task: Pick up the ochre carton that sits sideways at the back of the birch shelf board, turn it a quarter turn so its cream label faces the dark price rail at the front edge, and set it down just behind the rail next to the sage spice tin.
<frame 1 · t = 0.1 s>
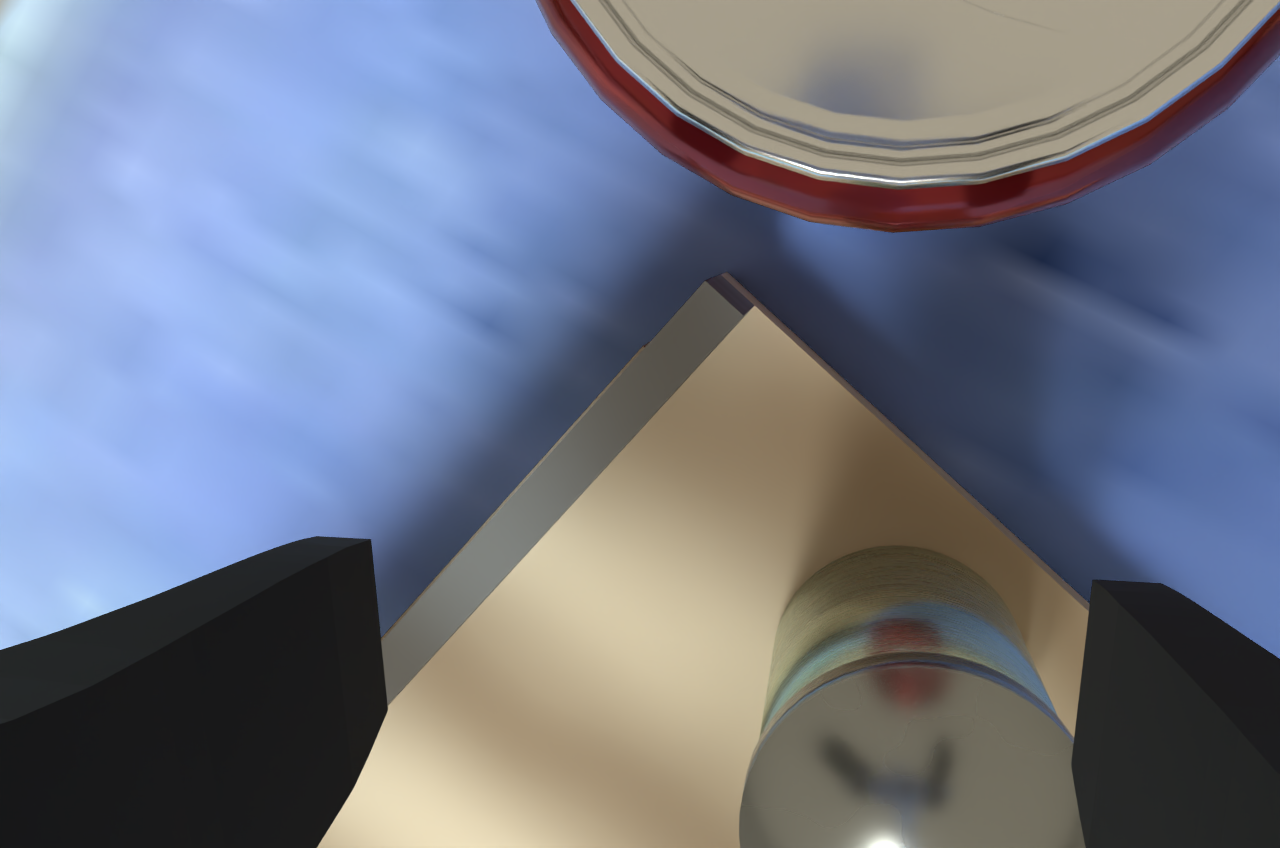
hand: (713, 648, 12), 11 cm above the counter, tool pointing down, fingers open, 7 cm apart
spice tin: (896, 664, 21), point 1 cm above the counter, touching shelf board
soda can: (878, 19, 21), on the counter
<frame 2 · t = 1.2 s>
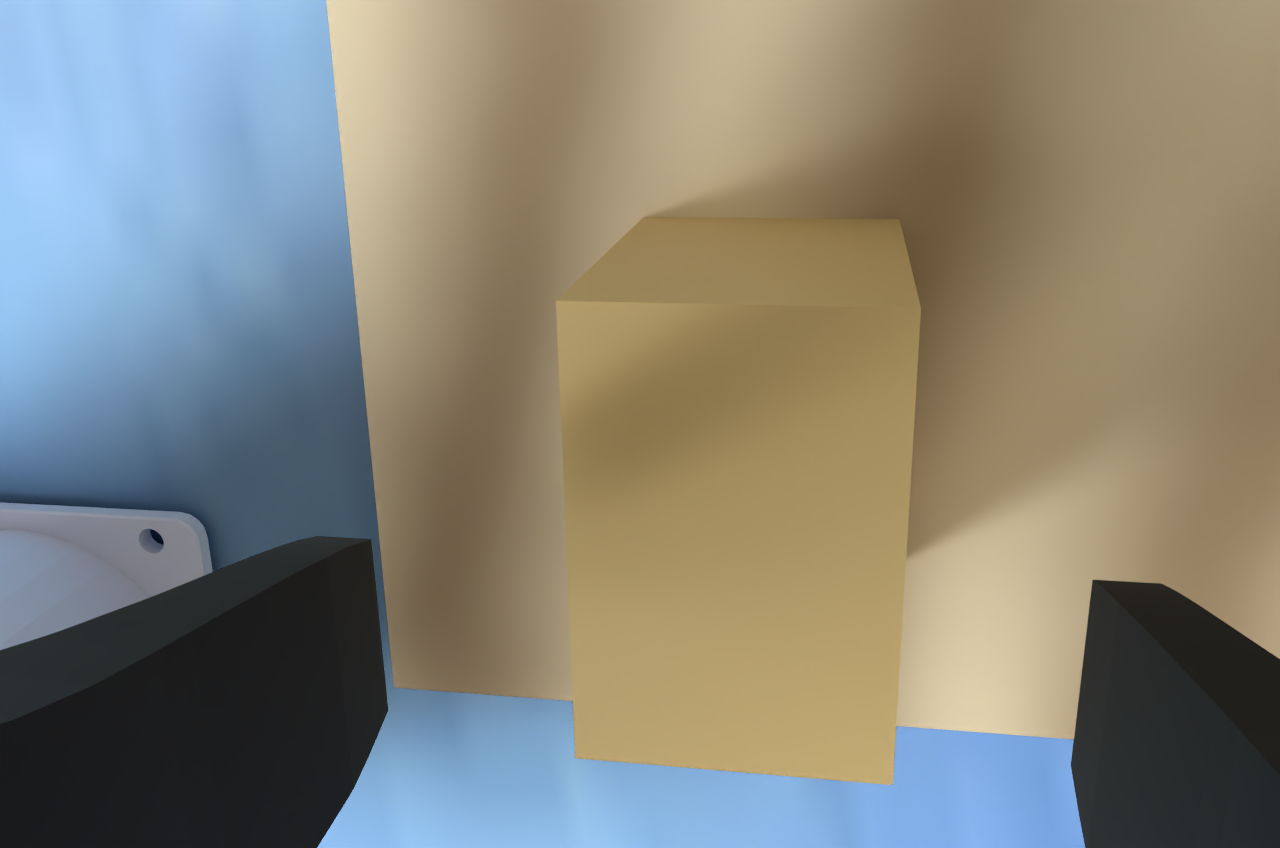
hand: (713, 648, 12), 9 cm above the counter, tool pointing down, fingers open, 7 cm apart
carton: (766, 400, 19), point 1 cm above the counter, touching shelf board
shelf board: (903, 80, 19), on the counter
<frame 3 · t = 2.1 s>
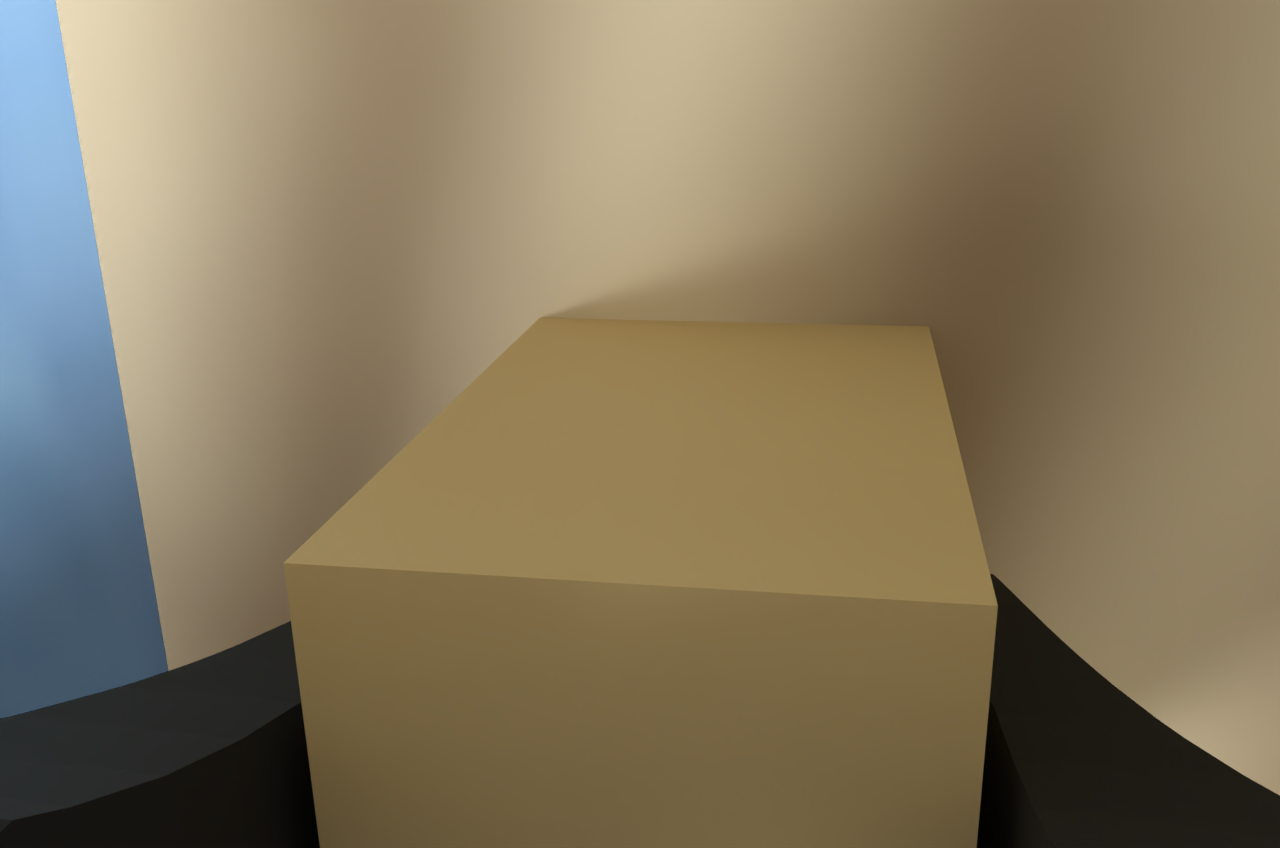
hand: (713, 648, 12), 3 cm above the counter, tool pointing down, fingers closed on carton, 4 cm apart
carton: (727, 585, 13), point 1 cm above the counter, touching gripper, shelf board
shelf board: (933, 110, 12), on the counter
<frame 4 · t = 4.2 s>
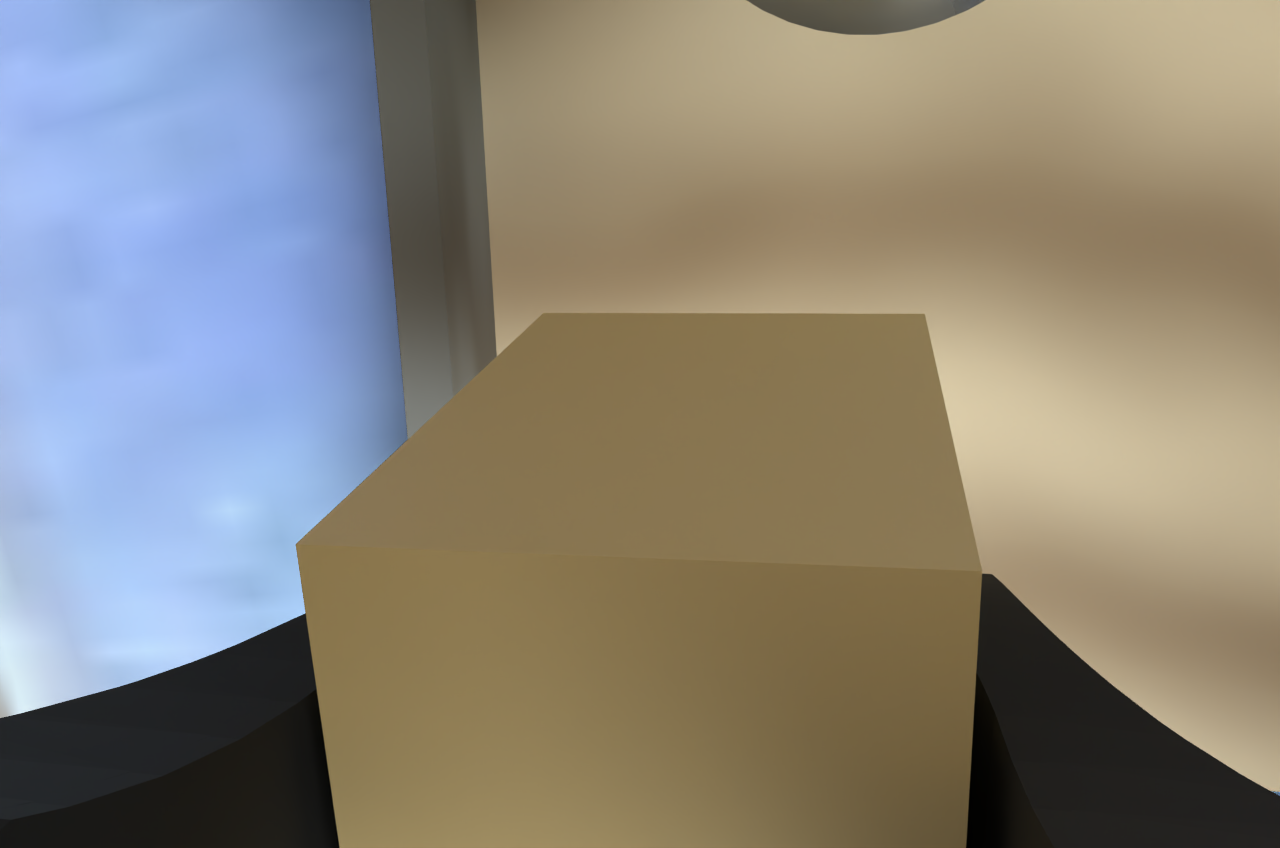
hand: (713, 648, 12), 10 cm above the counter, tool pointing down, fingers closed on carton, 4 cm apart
carton: (732, 573, 13), point 8 cm above the counter, touching gripper
shelf board: (1107, 266, 19), on the counter
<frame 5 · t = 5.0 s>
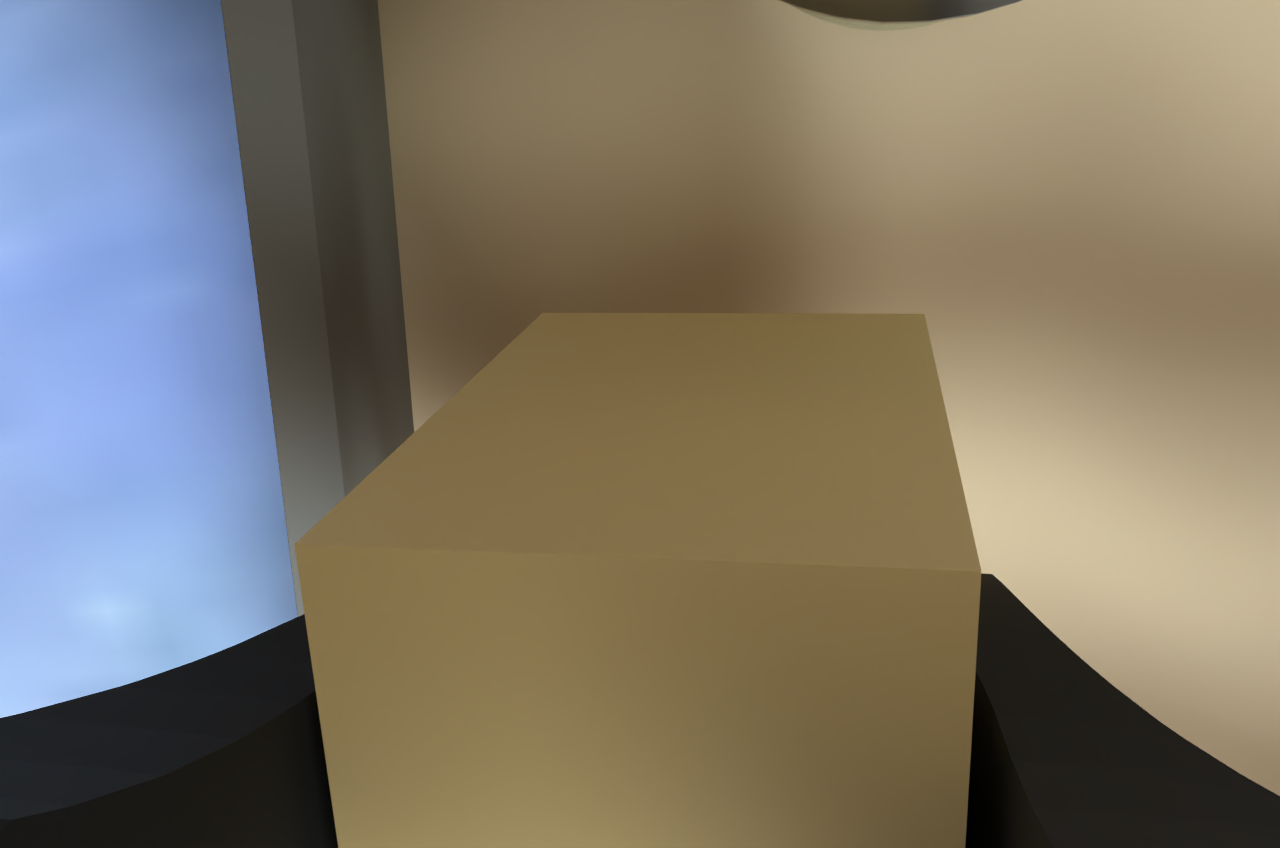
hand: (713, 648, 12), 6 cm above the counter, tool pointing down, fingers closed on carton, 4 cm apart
carton: (732, 573, 13), point 4 cm above the counter, touching gripper
shelf board: (1182, 331, 15), on the counter
when the fingers open (4 cm above the counter, at t = 5.8 s): carton stays where it is, resting on shelf board.
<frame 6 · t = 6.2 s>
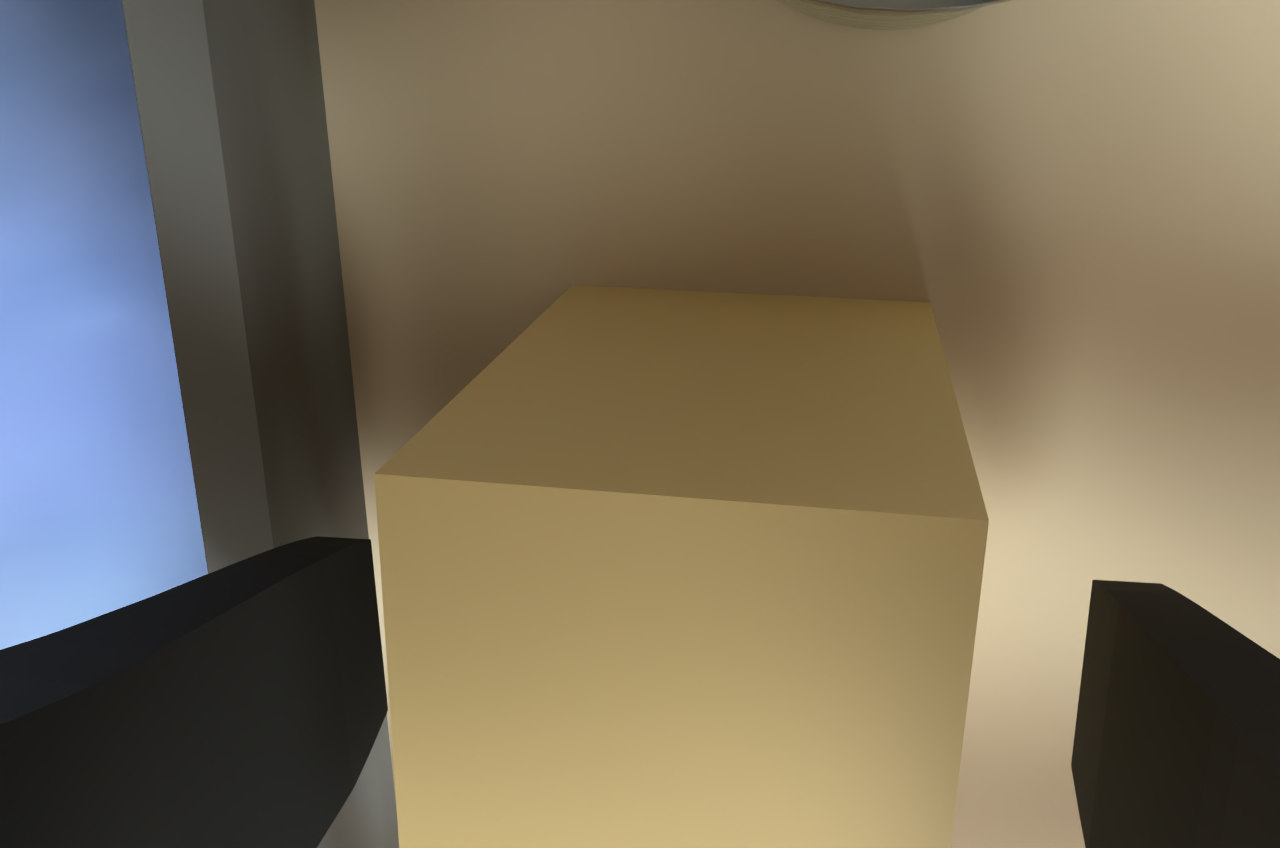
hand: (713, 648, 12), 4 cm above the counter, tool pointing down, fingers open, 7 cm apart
carton: (736, 538, 14), point 1 cm above the counter, touching shelf board
shelf board: (1219, 366, 14), on the counter
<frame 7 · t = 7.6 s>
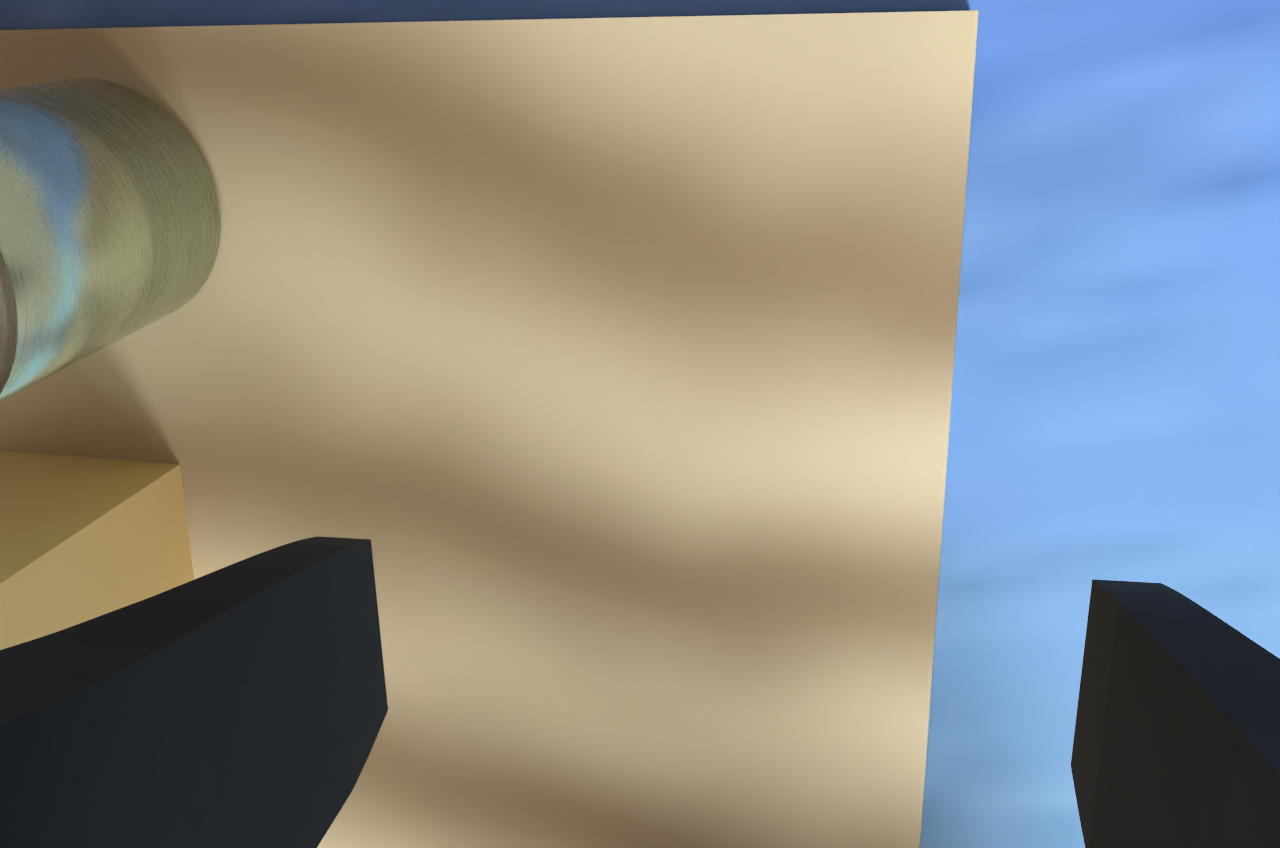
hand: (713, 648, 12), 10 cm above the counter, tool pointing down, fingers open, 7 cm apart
carton: (106, 594, 24), point 1 cm above the counter, touching shelf board
spice tin: (106, 204, 21), point 1 cm above the counter, touching shelf board
shelf board: (374, 495, 24), on the counter
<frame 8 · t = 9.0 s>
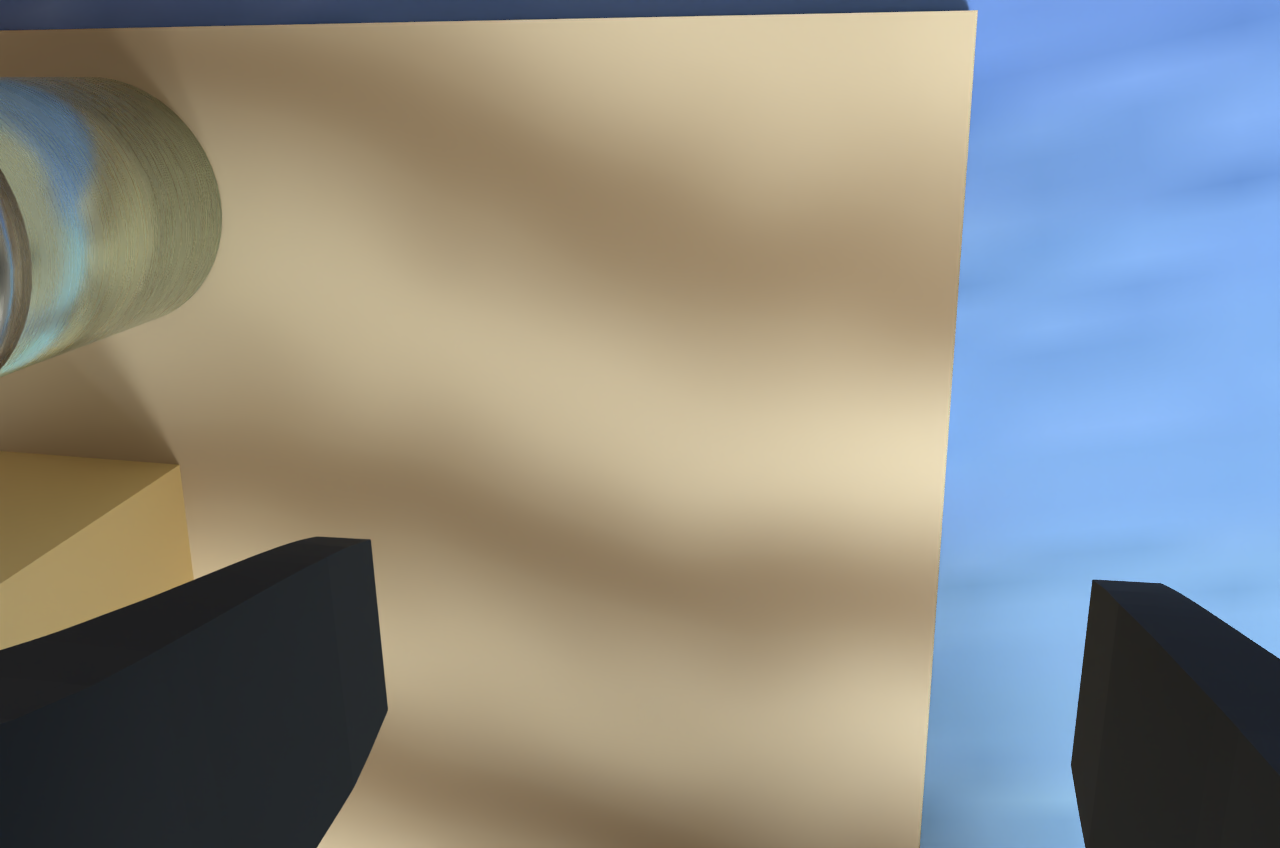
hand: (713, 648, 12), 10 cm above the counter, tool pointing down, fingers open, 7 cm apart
carton: (106, 594, 24), point 1 cm above the counter, touching shelf board
spice tin: (105, 204, 21), point 1 cm above the counter, touching shelf board
shelf board: (374, 496, 24), on the counter
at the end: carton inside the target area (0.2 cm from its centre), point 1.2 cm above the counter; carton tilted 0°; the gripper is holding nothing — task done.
